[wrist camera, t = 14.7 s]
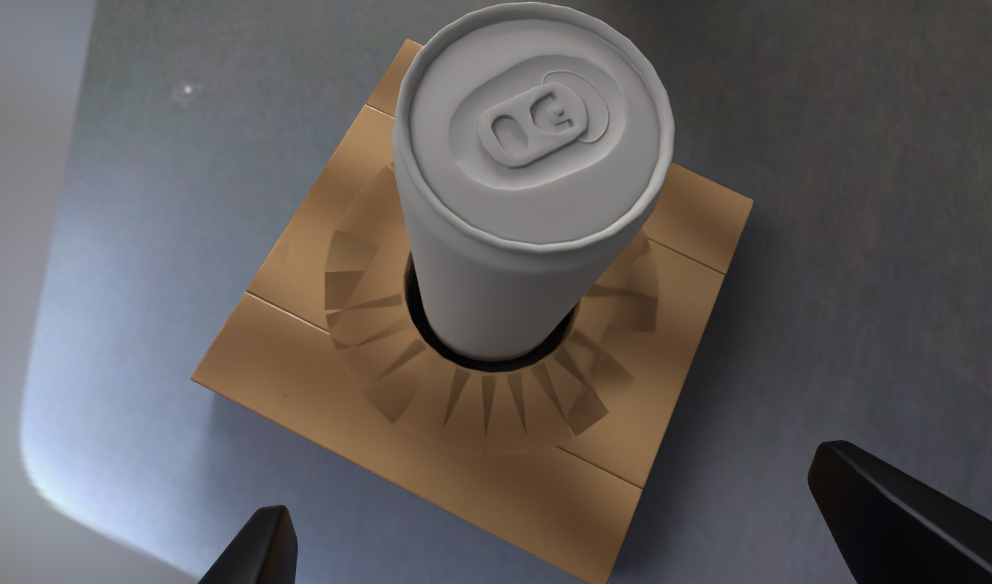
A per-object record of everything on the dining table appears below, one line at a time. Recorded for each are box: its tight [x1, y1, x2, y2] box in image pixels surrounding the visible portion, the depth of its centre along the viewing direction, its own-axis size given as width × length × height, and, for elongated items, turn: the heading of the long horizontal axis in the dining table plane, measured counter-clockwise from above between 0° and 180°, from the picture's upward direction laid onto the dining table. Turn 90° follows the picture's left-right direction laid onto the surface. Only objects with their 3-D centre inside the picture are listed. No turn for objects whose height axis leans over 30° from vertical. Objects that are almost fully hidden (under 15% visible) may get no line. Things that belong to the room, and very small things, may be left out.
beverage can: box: [391, 2, 675, 362], centre depth 15 cm, size 5×5×12 cm
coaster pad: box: [190, 39, 754, 584], centre depth 20 cm, size 14×14×2 cm
